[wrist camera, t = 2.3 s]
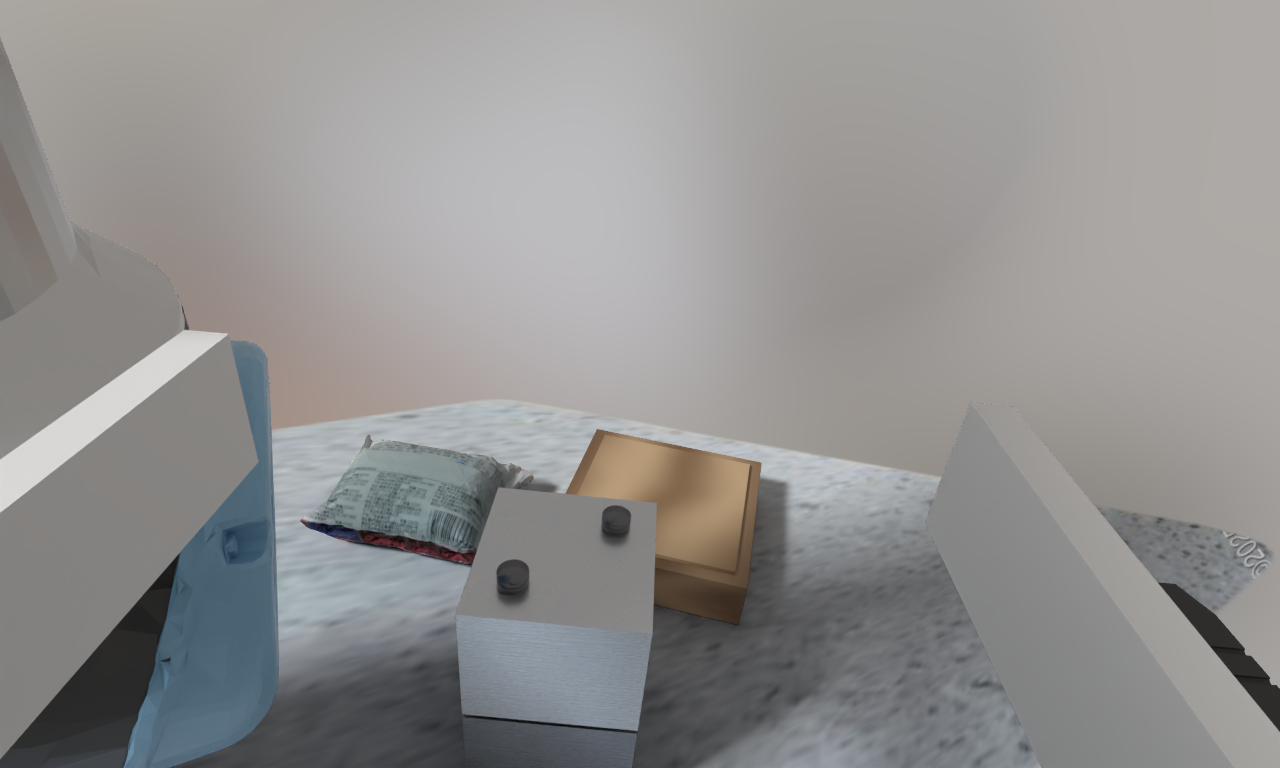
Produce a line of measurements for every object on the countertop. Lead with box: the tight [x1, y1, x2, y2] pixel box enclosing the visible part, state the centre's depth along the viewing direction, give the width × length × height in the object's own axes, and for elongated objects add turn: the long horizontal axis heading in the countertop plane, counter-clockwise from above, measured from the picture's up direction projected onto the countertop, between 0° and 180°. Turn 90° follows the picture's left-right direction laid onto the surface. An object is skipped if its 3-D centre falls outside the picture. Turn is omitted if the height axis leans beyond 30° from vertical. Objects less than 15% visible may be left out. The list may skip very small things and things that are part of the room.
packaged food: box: [300, 435, 533, 564], centre depth 44 cm, size 9×12×5 cm
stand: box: [566, 429, 761, 625], centre depth 45 cm, size 12×12×3 cm
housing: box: [455, 487, 657, 768], centre depth 30 cm, size 7×7×13 cm
